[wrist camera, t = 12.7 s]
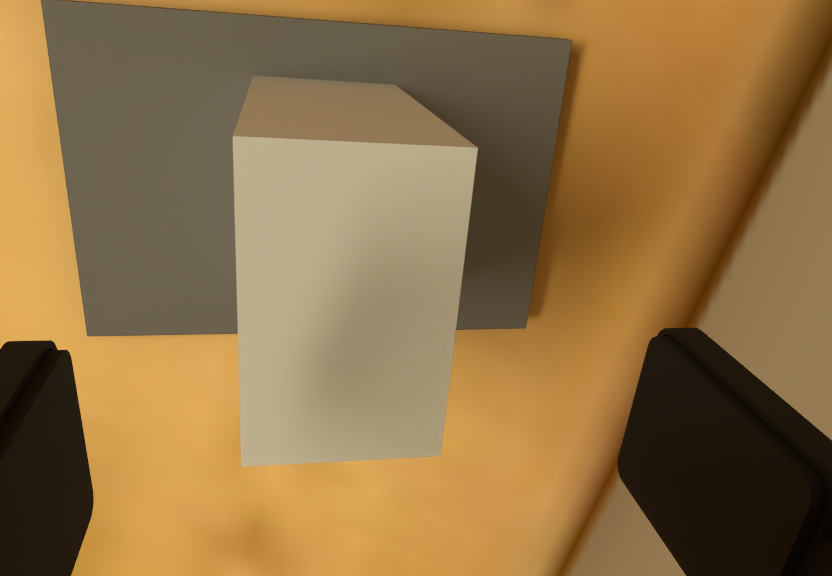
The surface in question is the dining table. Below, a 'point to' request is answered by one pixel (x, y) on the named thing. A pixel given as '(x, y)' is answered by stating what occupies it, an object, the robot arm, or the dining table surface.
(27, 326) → the dining table surface
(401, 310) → the blank block
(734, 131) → the dining table surface
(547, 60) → the mat
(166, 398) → the dining table surface
